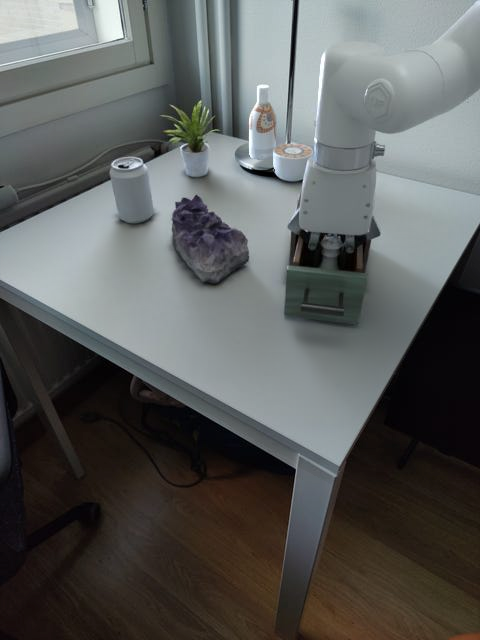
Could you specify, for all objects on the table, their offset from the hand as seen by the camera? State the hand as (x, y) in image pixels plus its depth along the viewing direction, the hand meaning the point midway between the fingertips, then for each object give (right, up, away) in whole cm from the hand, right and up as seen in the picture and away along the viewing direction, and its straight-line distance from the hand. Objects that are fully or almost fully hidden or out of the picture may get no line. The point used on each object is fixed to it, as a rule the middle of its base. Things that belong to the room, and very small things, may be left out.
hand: (328, 267), depth 72 cm
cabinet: (+2, +2, +13) cm, 13 cm away
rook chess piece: (0, -2, +2) cm, 3 cm away
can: (-36, +14, +27) cm, 47 cm away
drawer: (-1, -5, +3) cm, 6 cm away
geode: (-21, +4, +15) cm, 26 cm away
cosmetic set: (-2, +26, +40) cm, 48 cm away
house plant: (-25, +29, +44) cm, 59 cm away
